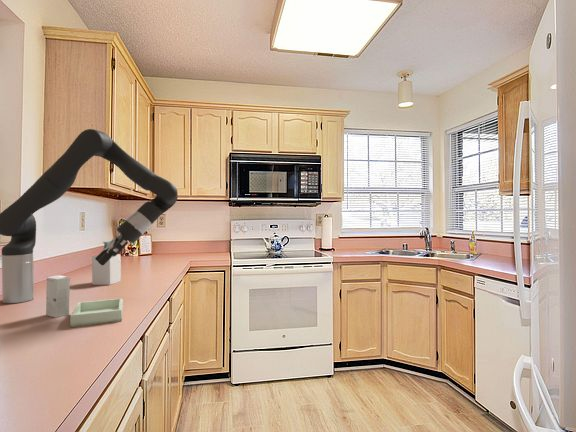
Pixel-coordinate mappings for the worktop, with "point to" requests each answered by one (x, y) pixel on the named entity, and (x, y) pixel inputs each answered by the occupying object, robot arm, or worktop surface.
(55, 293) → the skincare box
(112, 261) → the soap bottle
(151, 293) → the worktop surface
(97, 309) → the tray
